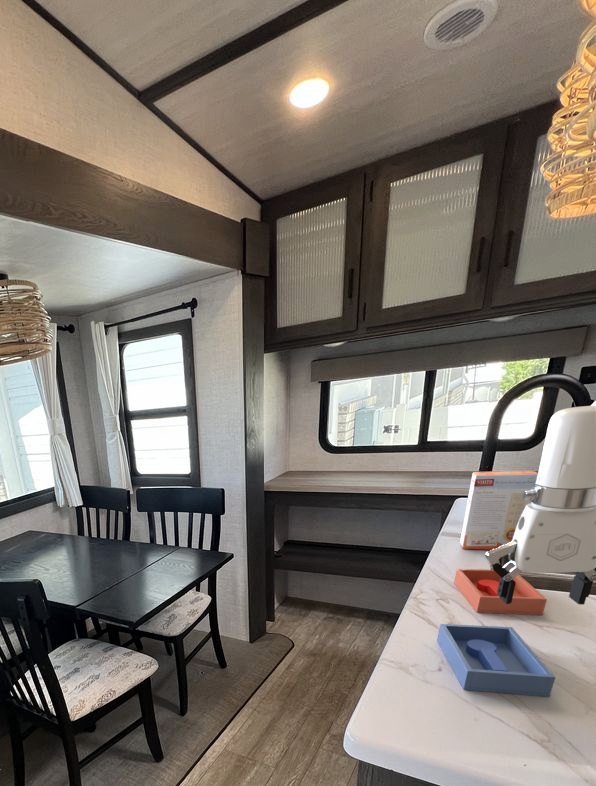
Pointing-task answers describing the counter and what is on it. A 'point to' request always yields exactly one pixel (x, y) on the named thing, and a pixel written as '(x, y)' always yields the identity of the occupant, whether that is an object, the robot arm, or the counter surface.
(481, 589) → the red keyhole shape
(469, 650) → the blue keyhole shape
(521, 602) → the terracotta bin
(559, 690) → the counter surface
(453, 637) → the blue bin
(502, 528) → the cracker box
